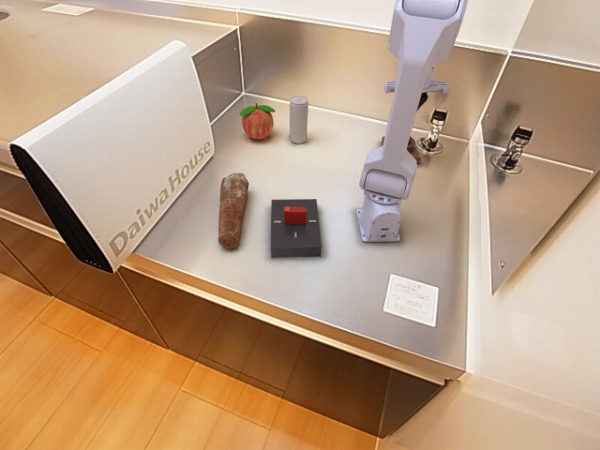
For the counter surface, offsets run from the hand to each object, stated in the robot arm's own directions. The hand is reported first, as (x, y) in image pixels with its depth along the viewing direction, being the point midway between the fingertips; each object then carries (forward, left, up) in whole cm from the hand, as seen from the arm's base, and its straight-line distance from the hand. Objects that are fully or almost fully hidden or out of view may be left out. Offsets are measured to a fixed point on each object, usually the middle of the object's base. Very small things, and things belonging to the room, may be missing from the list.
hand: (408, 119), depth 92 cm
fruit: (+9, +38, -10) cm, 40 cm away
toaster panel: (-28, +29, -10) cm, 42 cm away
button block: (0, 0, -10) cm, 10 cm away
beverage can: (+7, +27, -10) cm, 30 cm away
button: (0, 0, -7) cm, 7 cm away
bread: (-24, +42, -10) cm, 49 cm away
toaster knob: (-28, +29, -7) cm, 41 cm away
